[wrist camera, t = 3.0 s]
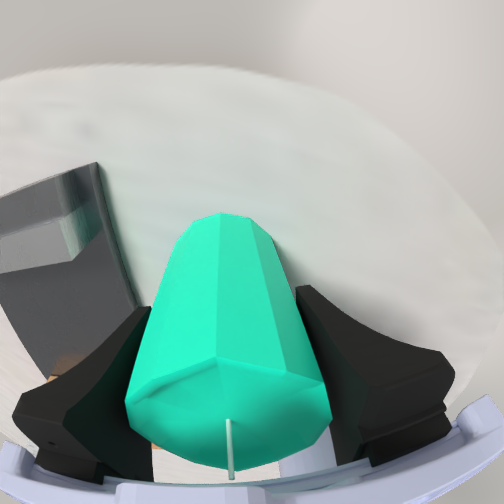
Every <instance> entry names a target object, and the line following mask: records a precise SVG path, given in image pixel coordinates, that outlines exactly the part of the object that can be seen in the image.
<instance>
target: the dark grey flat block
mask: <svg viewBox="0 0 504 504" xmlns="http://www.w3.org/2000/svg"><path fill="white" fill-rule="evenodd" d="M0 304H1V306H2V308H3V310H4V312H5V314H6V316H7V317H8V319H9V321H10V323H11V325H12V327H13V328H14V330H15V332H16V334H17V335H18V337H19V339H20V340H21V342H22V344H23V345H24V347H25V348H26V350H27V352H28V353H29V355H30V356H31V358H32V359H33V361H34V362H35V364H36V365H37V367H38V368H39V370H40V371H41V372H42V374H43V375H44V377H45V378H46V379H47V381H48V379H49V377H50V376H56V377H59V376H60V375H62V374H64V373H65V372H67V371H68V370H69V369H71V368H72V367H74V366H75V365H77V364H78V363H80V362H81V361H82V360H83V359H85V358H86V357H87V356H89V355H90V354H91V353H92V352H93V351H94V350H95V349H97V348H98V347H99V346H100V345H101V344H102V343H103V342H104V341H105V340H106V339H107V338H108V337H109V336H110V335H111V334H112V333H113V332H114V331H115V330H116V329H117V328H118V327H119V326H120V325H121V324H122V323H123V322H124V321H125V320H126V319H127V317H128V316H129V315H130V314H131V313H132V312H133V311H134V310H136V309H137V308H138V305H137V303H136V300H135V297H134V294H133V292H132V289H131V286H130V283H129V280H128V277H127V274H126V271H125V268H124V265H123V262H122V259H121V256H120V253H119V249H118V246H117V243H116V239H115V236H114V233H113V229H112V225H111V222H110V218H109V214H108V210H107V206H106V202H105V198H104V194H103V190H102V185H101V181H100V176H99V172H98V167H97V162H95V163H91V164H88V165H85V166H81V167H78V168H75V169H72V170H69V171H66V172H63V173H60V174H57V175H54V176H51V177H48V178H46V179H43V180H40V181H37V182H35V183H32V184H30V185H27V186H24V187H22V188H19V189H17V190H15V191H12V192H10V193H7V194H5V195H3V196H1V197H0Z"/></svg>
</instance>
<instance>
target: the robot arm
mask: <svg viewBox="0 0 504 504" xmlns="http://www.w3.org/2000/svg"><path fill="white" fill-rule="evenodd" d="M295 289H296V305H297V308H298V311H299V314H300V316H301V319H302V322H303V325H304V327H305V330H306V333H307V336H308V338H309V341H310V344H311V347H312V350H313V352H314V355H315V358H316V361H317V364H318V367H319V369H320V372H321V375H322V378H323V381H324V384H325V388H326V392H327V397H328V401H329V405H330V409H331V413H332V418H333V419H332V421H331V422H330V424H329V425H328V426H327V428H326V429H325V431H324V432H323V433H322V435H321V436H320V437H319V439H318V440H317V441H316V443H315V444H314V445H312V446H310V447H308V448H306V449H304V450H302V451H300V452H297V453H295V454H293V455H290V456H288V457H286V458H283V459H281V460H278V464H279V470H280V476H281V478H277V479H270V480H262V481H253V482H241V483H226V484H172V483H157V482H154V477H153V467H152V442H150V441H149V440H147V439H146V438H144V437H143V436H142V435H140V434H139V433H137V432H136V431H135V430H133V429H132V428H131V427H130V425H129V420H128V415H127V410H126V405H125V398H126V394H127V391H128V387H129V383H130V379H131V376H132V372H133V369H134V365H135V362H136V358H137V355H138V351H139V348H140V345H141V342H142V338H143V335H144V332H145V329H146V326H147V323H148V319H149V316H150V313H151V310H152V308H151V306H146V307H138V308H137V309H136V310H134V311H133V312H132V313H131V314H130V315H129V316H128V317H127V319H126V320H125V321H124V322H123V323H122V324H121V325H120V326H119V327H118V328H117V329H116V330H115V331H114V332H113V333H112V334H111V335H110V336H109V337H108V338H107V339H106V340H105V341H104V342H103V343H102V344H101V345H100V346H99V347H98V348H97V349H95V350H94V351H93V352H92V353H91V354H90V355H89V356H87V357H86V358H85V359H83V360H82V361H81V362H80V363H78V364H77V365H75V366H74V367H72V368H71V369H69V370H68V371H67V372H65V373H64V374H62V375H60V376H59V377H57V378H55V379H53V380H52V381H50V382H48V383H46V384H44V385H42V386H40V387H37V388H35V389H32V390H30V391H28V392H25V393H22V395H21V397H20V399H19V401H18V403H17V406H16V408H15V410H14V412H13V414H12V418H13V421H14V423H15V424H16V426H17V427H18V428H19V429H20V430H21V431H22V432H23V433H24V434H25V435H26V436H27V437H28V438H29V439H30V440H31V441H32V442H33V443H34V444H35V445H37V446H38V447H39V450H38V453H37V456H36V457H34V455H33V454H32V453H30V452H29V451H28V450H27V449H25V448H23V447H22V446H20V445H17V444H14V443H12V442H9V441H5V442H4V445H3V447H2V450H1V452H0V490H2V491H3V492H5V493H6V494H8V495H9V496H11V497H12V498H14V499H16V500H17V501H19V502H21V503H22V504H427V503H428V502H430V501H432V500H434V499H436V498H438V497H440V496H441V495H443V494H445V493H446V492H448V491H450V490H452V489H453V488H455V487H457V486H458V485H460V484H462V483H463V482H464V481H466V480H468V479H469V478H470V477H472V476H474V475H475V474H477V473H478V472H480V471H481V470H483V469H484V468H485V467H486V466H488V465H489V464H490V463H491V462H492V461H493V460H495V459H496V458H497V457H498V456H499V455H500V454H501V453H502V452H503V451H504V417H503V416H502V414H501V412H500V411H499V410H498V408H497V406H496V405H495V403H494V402H493V401H492V399H491V398H490V396H489V395H488V394H486V395H484V396H483V397H481V398H479V399H478V400H476V401H474V402H473V403H471V404H469V405H468V406H466V407H465V408H464V409H463V410H462V411H461V412H460V413H459V414H458V416H457V418H456V420H455V421H453V422H451V423H450V422H449V420H448V418H447V417H446V415H445V413H444V412H445V411H446V410H447V408H446V406H445V404H444V402H443V400H444V398H445V396H446V395H447V393H448V391H449V389H450V388H451V386H452V384H453V381H454V378H455V371H454V369H453V367H452V366H451V365H450V363H449V362H448V360H447V359H446V358H445V356H444V355H443V354H442V353H441V352H440V351H435V350H430V349H425V348H420V347H416V346H413V345H410V344H406V343H403V342H400V341H397V340H395V339H392V338H390V337H387V336H385V335H383V334H380V333H378V332H376V331H374V330H372V329H370V328H368V327H366V326H365V325H363V324H361V323H359V322H358V321H356V320H354V319H353V318H351V317H350V316H348V315H347V314H345V313H344V312H342V311H341V310H340V309H338V308H337V307H336V306H335V305H333V304H332V303H331V302H330V301H328V300H327V299H326V298H325V297H324V296H322V295H321V294H320V293H319V292H318V291H316V290H315V289H314V288H313V287H312V286H310V285H305V286H299V287H295Z"/></svg>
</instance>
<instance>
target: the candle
mask: <svg viewBox="0 0 504 504" xmlns="http://www.w3.org/2000/svg"><path fill="white" fill-rule="evenodd" d="M125 405H126V410H127V415H128V420H129V425H130V427H131V428H132V429H133V430H135V431H136V432H137V433H139V434H140V435H142V436H143V437H144V438H146V439H147V440H149V441H150V442H152V443H153V444H155V445H156V446H158V447H160V448H162V449H164V450H166V451H169V452H171V453H173V454H175V455H177V456H180V457H182V458H184V459H187V460H189V461H191V462H194V463H198V464H202V465H206V466H211V467H216V468H221V469H226V470H228V472H229V480H234V479H235V477H234V471H242V470H246V469H250V468H254V467H257V466H261V465H265V464H268V463H272V462H275V461H278V460H281V459H283V458H286V457H288V456H290V455H293V454H295V453H297V452H300V451H302V450H304V449H306V448H308V447H310V446H312V445H314V444H315V443H316V441H317V440H318V439H319V437H320V436H321V435H322V433H323V432H324V431H325V429H326V428H327V426H328V425H329V424H330V422H331V421H332V419H333V418H332V413H331V409H330V405H329V401H328V397H327V392H326V388H325V384H324V381H323V378H322V375H321V372H320V369H319V367H318V364H317V361H316V358H315V355H314V352H313V350H312V347H311V344H310V341H309V338H308V336H307V333H306V330H305V327H304V325H303V322H302V319H301V316H300V314H299V311H298V308H297V305H296V303H295V300H294V297H293V294H292V292H291V289H290V286H289V284H288V281H287V278H286V276H285V273H284V270H283V268H282V265H281V262H280V260H279V257H278V255H277V252H276V249H275V247H274V244H273V241H272V239H271V236H270V235H269V234H268V233H267V232H265V231H264V230H263V229H262V228H261V227H260V226H258V225H257V224H256V223H255V222H254V221H253V220H251V219H250V218H247V217H242V216H236V215H231V214H226V213H218V214H215V215H212V216H209V217H206V218H203V219H200V220H197V221H194V222H193V223H192V224H191V225H190V226H189V227H188V229H187V230H186V231H185V232H184V233H183V235H182V236H181V237H180V238H179V239H178V240H177V242H176V244H175V246H174V249H173V251H172V254H171V257H170V259H169V262H168V265H167V267H166V270H165V273H164V276H163V278H162V281H161V284H160V287H159V290H158V293H157V296H156V298H155V301H154V304H153V307H152V310H151V313H150V316H149V319H148V323H147V326H146V329H145V332H144V335H143V338H142V342H141V345H140V348H139V351H138V355H137V358H136V362H135V365H134V369H133V372H132V376H131V379H130V383H129V387H128V391H127V394H126V398H125Z"/></svg>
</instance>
